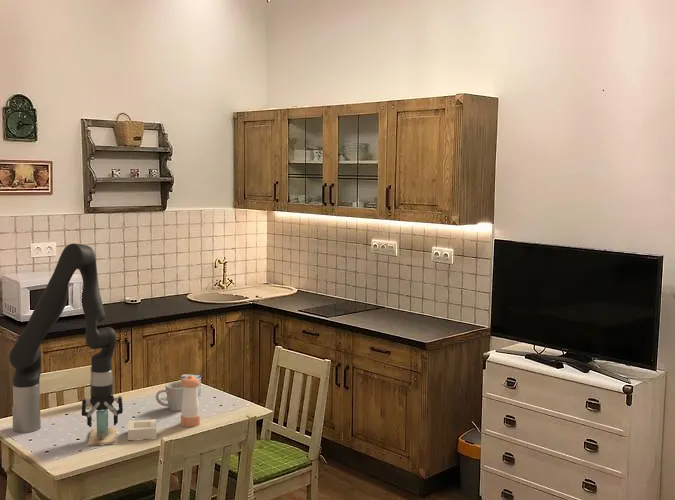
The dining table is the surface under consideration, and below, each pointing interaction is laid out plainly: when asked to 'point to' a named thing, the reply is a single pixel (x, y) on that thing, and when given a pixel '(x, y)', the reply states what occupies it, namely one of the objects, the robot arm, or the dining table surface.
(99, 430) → the pin
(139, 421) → the socket block
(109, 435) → the board
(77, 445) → the dining table surface
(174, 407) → the mug
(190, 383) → the pepper shaker
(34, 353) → the robot arm
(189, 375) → the medicine box
